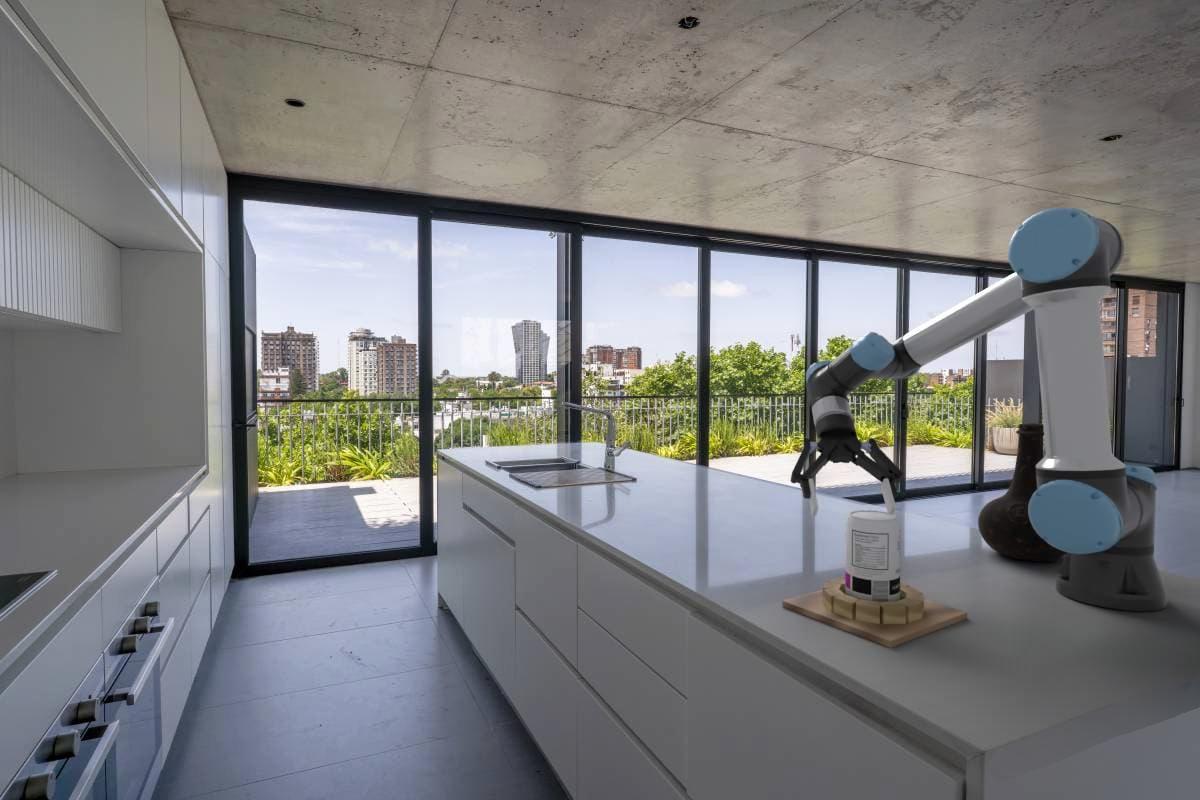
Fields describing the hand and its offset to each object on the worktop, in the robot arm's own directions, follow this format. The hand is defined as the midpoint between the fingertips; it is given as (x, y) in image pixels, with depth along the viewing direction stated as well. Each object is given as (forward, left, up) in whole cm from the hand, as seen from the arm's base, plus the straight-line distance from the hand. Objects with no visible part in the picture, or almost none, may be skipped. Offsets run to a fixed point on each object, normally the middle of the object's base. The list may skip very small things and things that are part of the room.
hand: (853, 512), depth 121 cm
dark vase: (-8, -46, -14) cm, 49 cm away
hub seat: (-10, +9, -14) cm, 19 cm away
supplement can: (-10, +9, -13) cm, 19 cm away
